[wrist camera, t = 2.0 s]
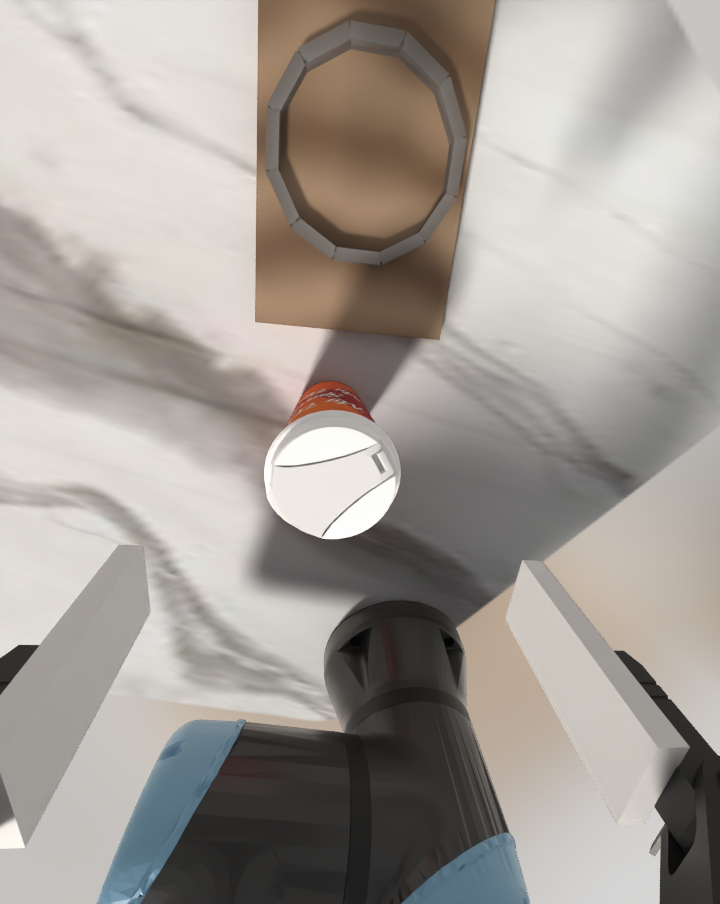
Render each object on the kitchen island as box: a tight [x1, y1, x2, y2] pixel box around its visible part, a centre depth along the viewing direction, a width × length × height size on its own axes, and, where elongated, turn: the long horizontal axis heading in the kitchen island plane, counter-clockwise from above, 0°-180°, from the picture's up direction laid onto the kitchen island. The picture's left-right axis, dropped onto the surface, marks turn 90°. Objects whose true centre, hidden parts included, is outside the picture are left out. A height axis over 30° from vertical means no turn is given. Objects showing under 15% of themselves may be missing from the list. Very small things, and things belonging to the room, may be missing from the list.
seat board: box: [255, 0, 496, 340], centre depth 28 cm, size 22×14×3 cm, turn 174°
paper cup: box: [264, 381, 401, 539], centre depth 29 cm, size 8×8×14 cm
